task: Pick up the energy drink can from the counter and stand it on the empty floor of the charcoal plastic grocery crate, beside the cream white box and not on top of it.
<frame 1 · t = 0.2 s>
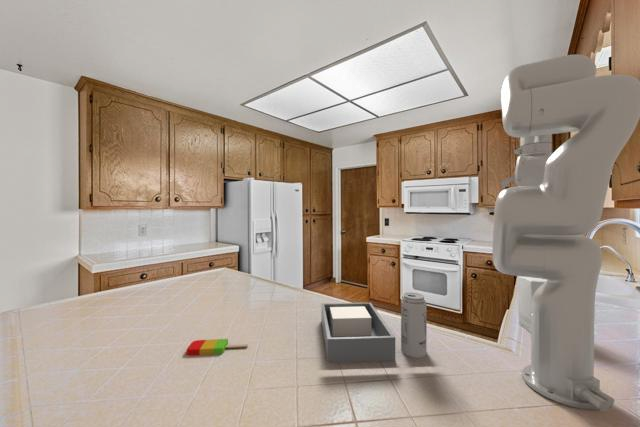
hand: (535, 207, 83), 37 cm above the countertop, tool pointing down, fingers open, 9 cm apart
grocery crate: (352, 341, 75), on the countertop
cream white box: (349, 328, 81), point 1 cm above the countertop, touching grocery crate
skincare box: (535, 330, 82), on the countertop
popsicle: (218, 351, 71), on the countertop
energy drink can: (413, 355, 68), on the countertop
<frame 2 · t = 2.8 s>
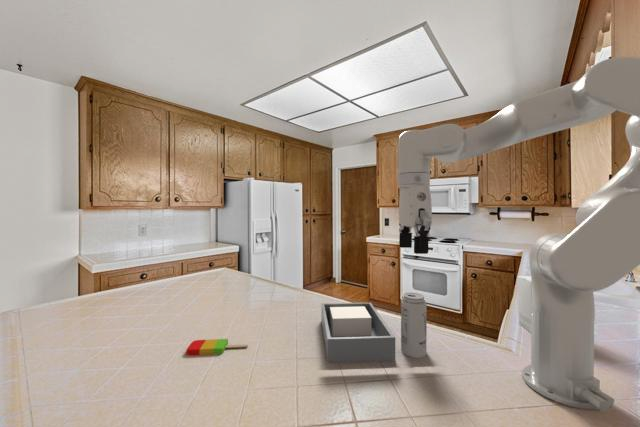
hand: (412, 250, 68), 26 cm above the countertop, tool pointing down, fingers open, 9 cm apart
nothing on the countertop moved.
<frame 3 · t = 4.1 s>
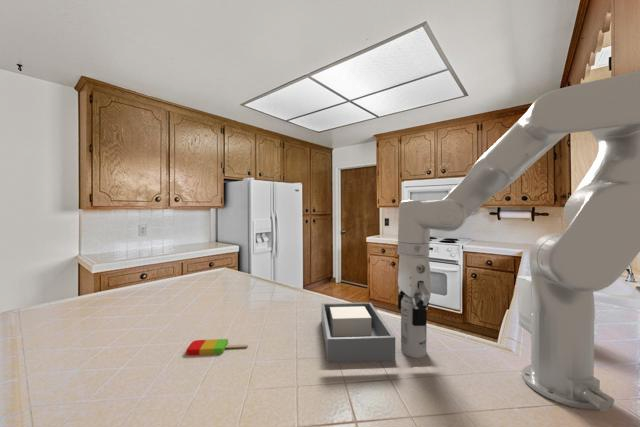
hand: (411, 316, 68), 10 cm above the countertop, tool pointing down, fingers open, 9 cm apart
nothing on the countertop moved.
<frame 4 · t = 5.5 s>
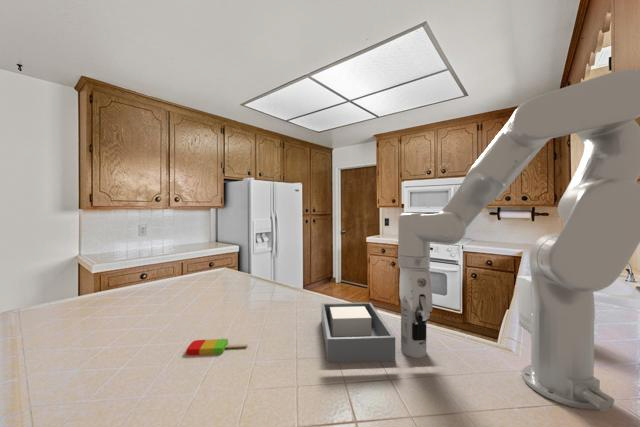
hand: (413, 332, 68), 6 cm above the countertop, tool pointing down, fingers closed on energy drink can, 6 cm apart
energy drink can: (413, 355, 68), on the countertop, touching gripper
everything else where it was.
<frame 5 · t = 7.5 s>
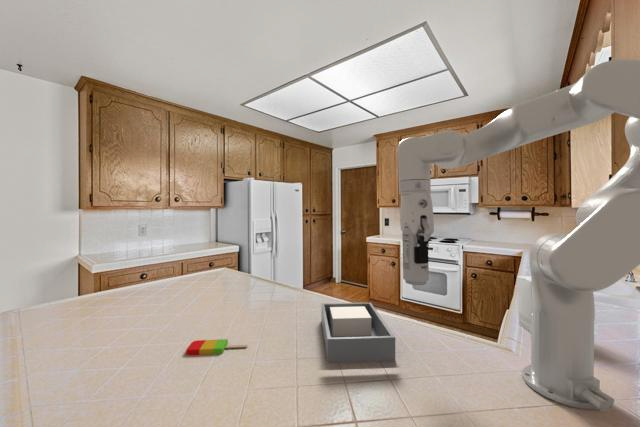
hand: (415, 260, 67), 24 cm above the countertop, tool pointing down, fingers closed on energy drink can, 6 cm apart
energy drink can: (415, 283, 67), point 18 cm above the countertop, touching gripper
everything else where it was.
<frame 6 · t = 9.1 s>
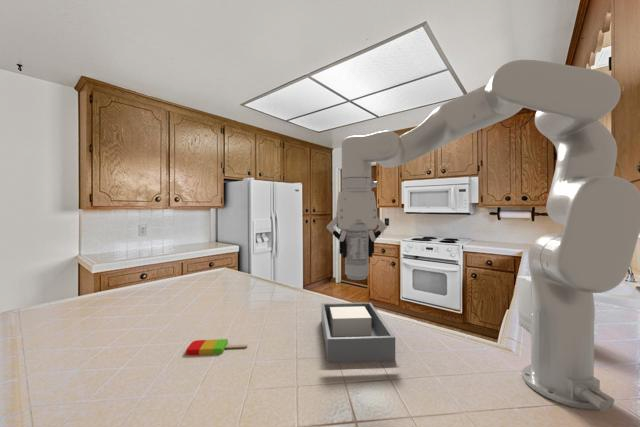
hand: (356, 255, 69), 25 cm above the countertop, tool pointing down, fingers closed on energy drink can, 6 cm apart
energy drink can: (356, 278, 69), point 19 cm above the countertop, touching gripper
everything else where it was.
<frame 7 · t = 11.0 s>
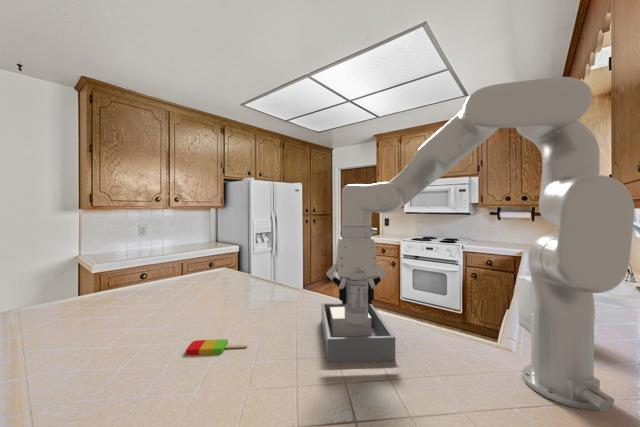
hand: (356, 302, 70), 13 cm above the countertop, tool pointing down, fingers closed on energy drink can, 6 cm apart
energy drink can: (356, 324, 70), point 7 cm above the countertop, touching gripper
everything else where it was.
when the fingers open (8 cm above the countertop, at t = 12.9 s): energy drink can drops 1 cm, resting on grocery crate.
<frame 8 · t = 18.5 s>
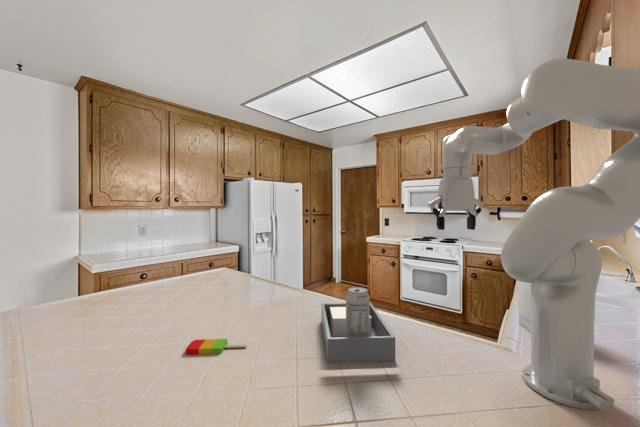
hand: (456, 229, 85), 30 cm above the countertop, tool pointing down, fingers open, 9 cm apart
energy drink can: (357, 348, 70), point 1 cm above the countertop, touching grocery crate
everything else where it was.
at the end: energy drink can inside the target area on the grocery crate (1.1 cm from its centre), point 0.8 cm above the grocery crate's base; energy drink can tilted 0°; cream white box moved 0.0 cm from its start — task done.
